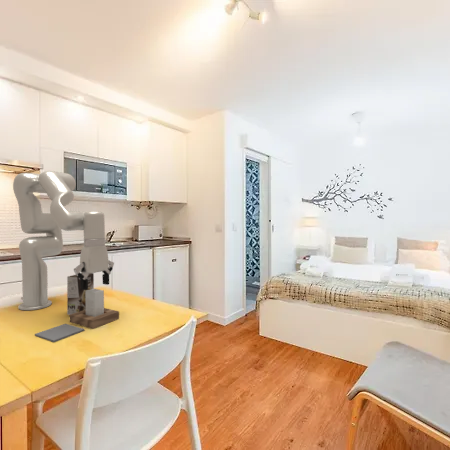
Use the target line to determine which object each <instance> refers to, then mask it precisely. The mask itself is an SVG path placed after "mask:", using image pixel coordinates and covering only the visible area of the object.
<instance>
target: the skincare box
mask: <svg viewBox="0 0 450 450" xmlns="http://www.w3.org/2000/svg"><path fill="white" fill-rule="evenodd" d="M104 292H105V291H104V289H98V288H94V289H91V290H86V291H85V293H86V315H89V316H93V317H96V316H99V315H102V314H104V308H105V296H104V295H105V294H104Z"/></svg>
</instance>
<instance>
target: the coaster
mask: <svg viewBox="0 0 450 450" xmlns="http://www.w3.org/2000/svg"><path fill="white" fill-rule="evenodd" d="M83 332H85V328H83V327H82V328H81V327H80V326H75V325H73V324H70V323H69V324H68V323H63V324H60V325H57V326H54V327H51V328H49V329H46V330H42V331H39V332H37V333H34V336H35V337H37V338H40V339H43V340H46V341H49V342H52V343H56V342H60V341H62V340H64V339H67V338H70V337H72V336H74V335H77V334H80V333H83Z"/></svg>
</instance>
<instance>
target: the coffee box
mask: <svg viewBox="0 0 450 450" xmlns="http://www.w3.org/2000/svg"><path fill="white" fill-rule="evenodd" d="M94 274H95V273H90V274H89V275H88V277H87V278H86V279H88V290H91V289H95V286H94V281H95V278H94V277H95V276H94ZM66 280H67V284H66V285H67V288H66V289H67V291H66V293H67V294H66V295H67V296H66V297H67V298H66V299H67V302H66V305H67V306H66V309H67V310H66V312H67V313H66V315H68V316H70V314H73V313H77V312H80V311H83V310H86V293H85V291H86V290H82V289H81V282H80V279H79V278H78V277H77V276H76V274H73V275H68V276H67V277H66Z"/></svg>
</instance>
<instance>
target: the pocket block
mask: <svg viewBox="0 0 450 450" xmlns="http://www.w3.org/2000/svg"><path fill="white" fill-rule="evenodd" d="M117 320H120V311H119V310H115V309H110V308H107V307H106V308H105V307H104V314H102V315H99V316H96V317H93V316H89V315H86V310H83V311H80V312H77V313H73V314H70V315H69V324H73V325H77V326H82V327H85V328H88V329H90V330H91V329H92V330H95V329H97V328H99V327H101V326H104V325H106V324H109V323H112V322H114V321H117Z"/></svg>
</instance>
